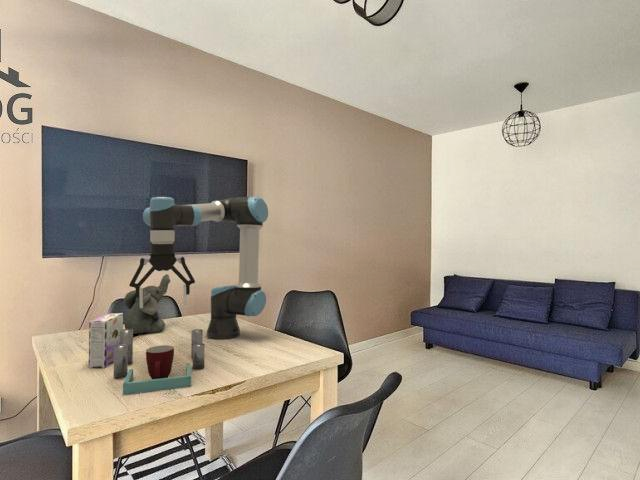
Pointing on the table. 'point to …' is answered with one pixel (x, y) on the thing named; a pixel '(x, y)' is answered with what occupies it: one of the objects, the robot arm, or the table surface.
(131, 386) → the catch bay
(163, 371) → the mug
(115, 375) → the spacer front right
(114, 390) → the table surface
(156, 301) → the stuffed elephant
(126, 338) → the spacer back right
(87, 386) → the table surface
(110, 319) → the candy box
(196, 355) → the cylinder
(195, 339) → the cylinder
